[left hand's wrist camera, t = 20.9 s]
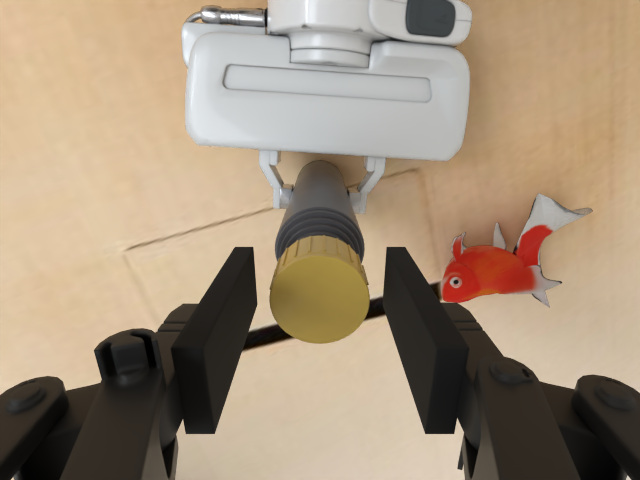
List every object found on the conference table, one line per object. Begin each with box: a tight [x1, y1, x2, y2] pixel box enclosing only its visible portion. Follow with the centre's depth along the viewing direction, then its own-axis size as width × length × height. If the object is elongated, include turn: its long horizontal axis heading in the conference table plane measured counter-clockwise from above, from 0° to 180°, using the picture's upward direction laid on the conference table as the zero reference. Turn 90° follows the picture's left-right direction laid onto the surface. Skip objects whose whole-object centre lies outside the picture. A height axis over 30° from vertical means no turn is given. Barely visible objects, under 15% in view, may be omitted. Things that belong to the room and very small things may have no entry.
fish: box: [441, 193, 593, 308], centre depth 32 cm, size 11×16×10 cm
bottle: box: [275, 161, 364, 263], centre depth 24 cm, size 4×4×22 cm
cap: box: [270, 235, 370, 344], centre depth 14 cm, size 4×4×2 cm
